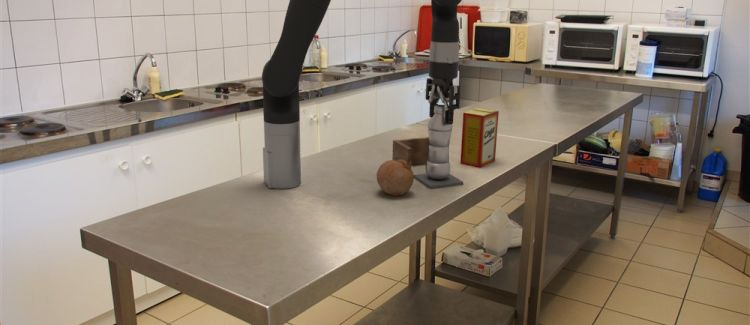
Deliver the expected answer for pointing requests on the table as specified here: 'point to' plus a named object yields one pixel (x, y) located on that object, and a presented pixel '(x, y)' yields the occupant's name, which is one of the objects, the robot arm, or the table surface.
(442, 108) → the plastic bottle
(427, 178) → the rubber mat
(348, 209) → the table surface
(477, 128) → the baking soda box
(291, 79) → the robot arm
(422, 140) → the walnut rack
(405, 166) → the onion
